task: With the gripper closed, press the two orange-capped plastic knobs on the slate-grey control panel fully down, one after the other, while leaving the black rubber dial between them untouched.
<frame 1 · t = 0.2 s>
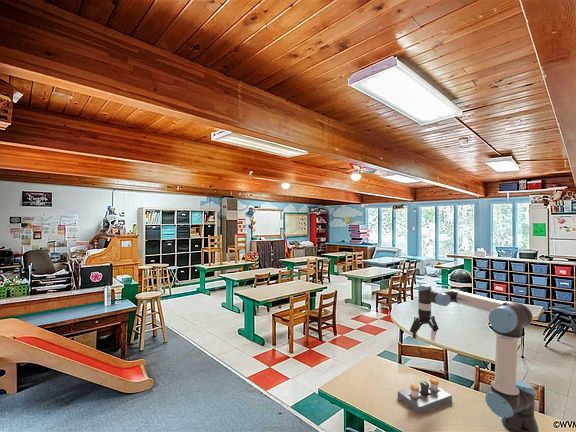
hand: (424, 341, 194), 27 cm above the table, fingers open, 13 cm apart
knob far: (434, 385, 181), point 6 cm above the table, slide at 0.0 cm
dial: (424, 389, 178), point 6 cm above the table, slide at 0.0 cm
knob near: (414, 392, 175), point 6 cm above the table, slide at 0.0 cm
panel: (424, 399, 178), on the table
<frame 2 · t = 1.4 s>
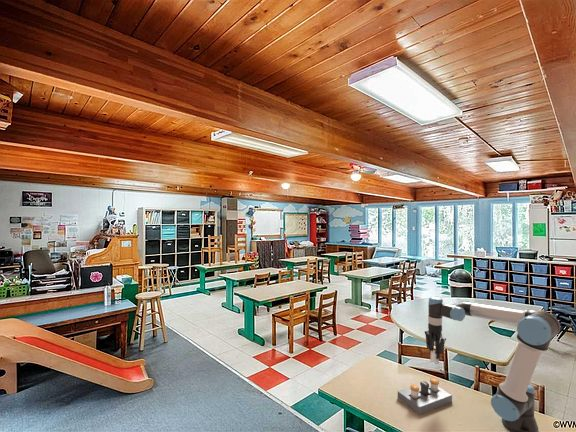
hand: (434, 362, 181), 20 cm above the table, fingers open, 2 cm apart
nothing on the table moved.
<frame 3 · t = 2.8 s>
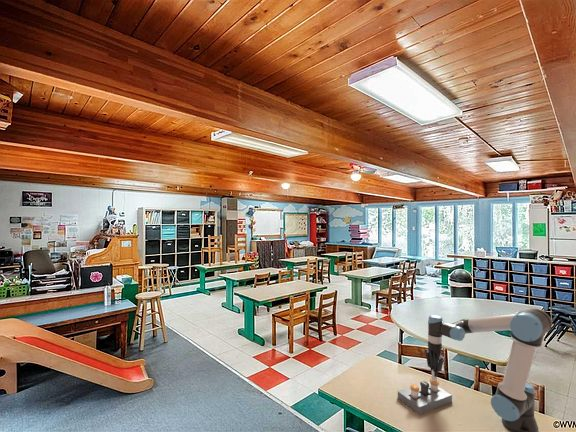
hand: (434, 380, 182), 9 cm above the table, fingers closed
knob far: (434, 386, 181), point 6 cm above the table, slide at 0.5 cm, touching gripper
everything else where it was.
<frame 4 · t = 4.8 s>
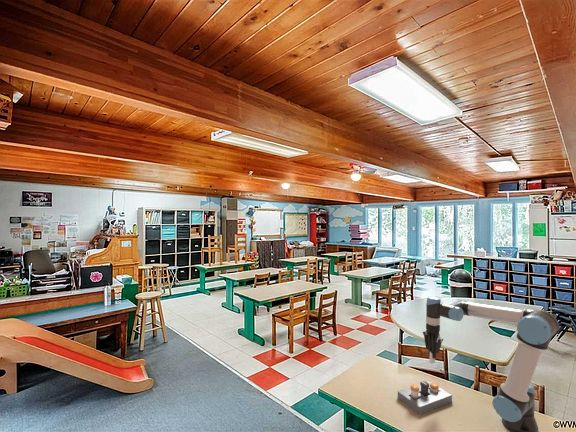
hand: (432, 362, 181), 21 cm above the table, fingers closed
knob far: (434, 390, 182), point 4 cm above the table, slide at 2.8 cm
everything else where it was.
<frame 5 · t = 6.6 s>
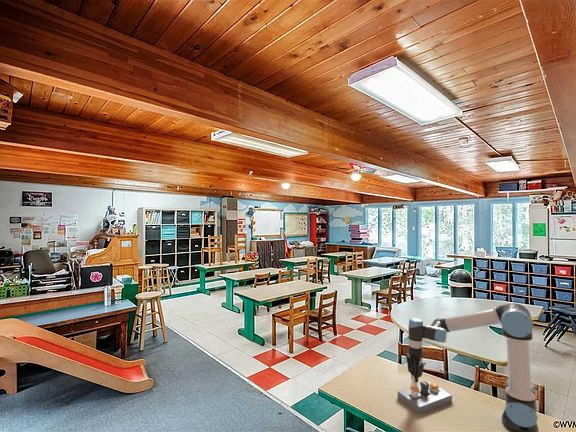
hand: (414, 386, 175), 10 cm above the table, fingers closed
knob near: (414, 392, 175), point 6 cm above the table, slide at 0.1 cm, touching gripper
everything else where it was.
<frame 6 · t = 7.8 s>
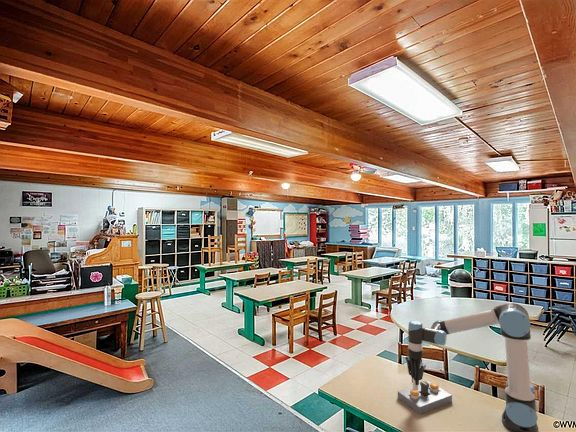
hand: (415, 389, 175), 8 cm above the table, fingers closed
knob near: (414, 397, 175), point 4 cm above the table, slide at 2.8 cm
everything else where it was.
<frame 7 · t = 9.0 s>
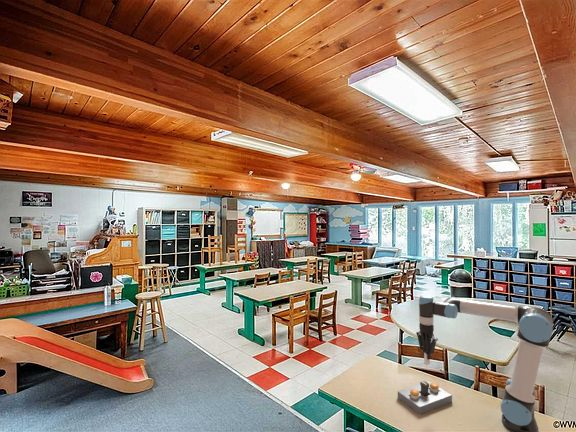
hand: (427, 363, 175), 23 cm above the table, fingers closed
nothing on the table moved.
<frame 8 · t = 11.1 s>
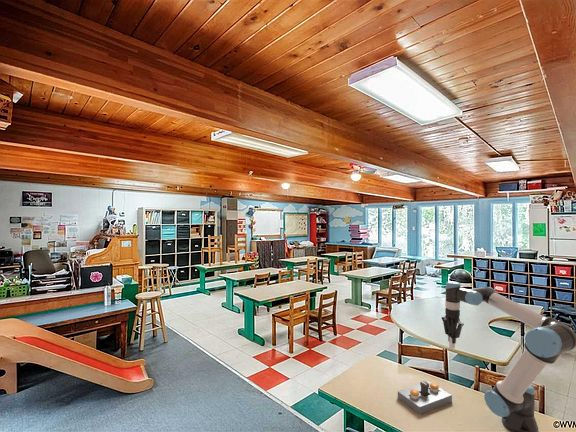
hand: (451, 348, 178), 30 cm above the table, fingers closed
nothing on the table moved.
at the end: knob far slide at 2.8 cm; knob near slide at 2.8 cm; dial slide at 0.0 cm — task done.
